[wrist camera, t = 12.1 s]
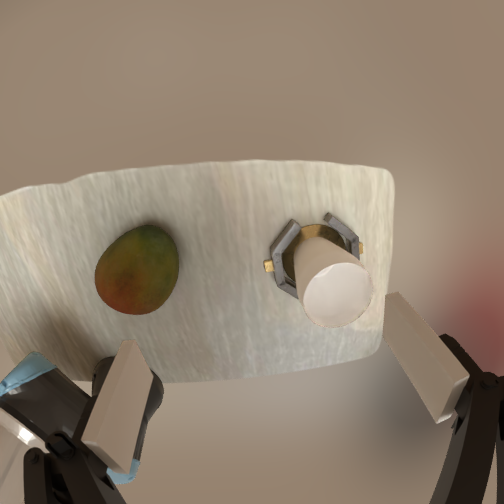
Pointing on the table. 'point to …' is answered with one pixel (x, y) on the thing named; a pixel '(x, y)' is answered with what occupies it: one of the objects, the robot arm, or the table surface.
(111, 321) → the table surface
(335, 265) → the cup
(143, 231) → the fruit
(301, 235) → the socket
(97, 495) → the robot arm
